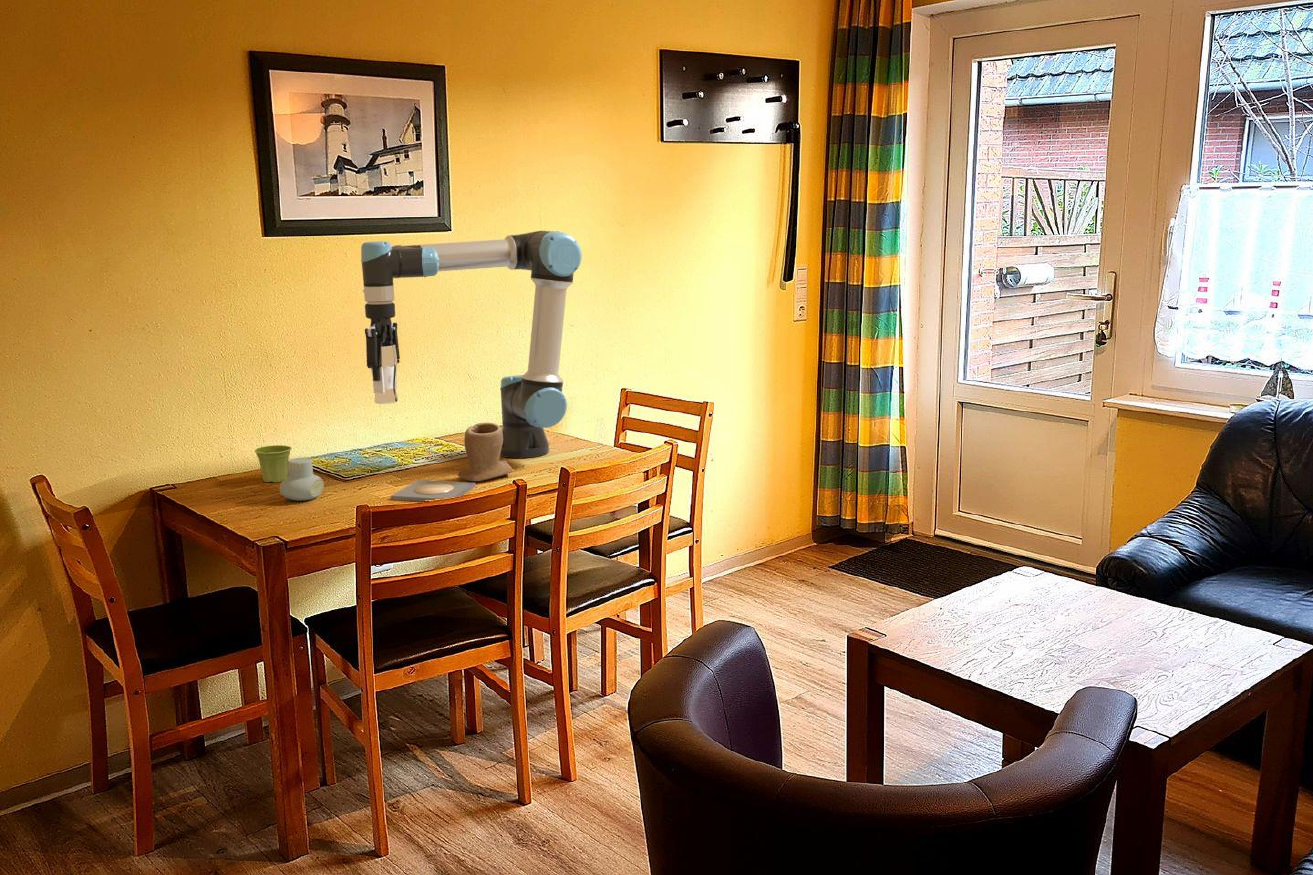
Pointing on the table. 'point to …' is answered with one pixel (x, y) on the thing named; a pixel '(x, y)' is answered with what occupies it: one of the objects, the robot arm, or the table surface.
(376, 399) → the beer glass
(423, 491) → the slate board
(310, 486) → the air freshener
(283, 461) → the plant pot
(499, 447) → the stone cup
